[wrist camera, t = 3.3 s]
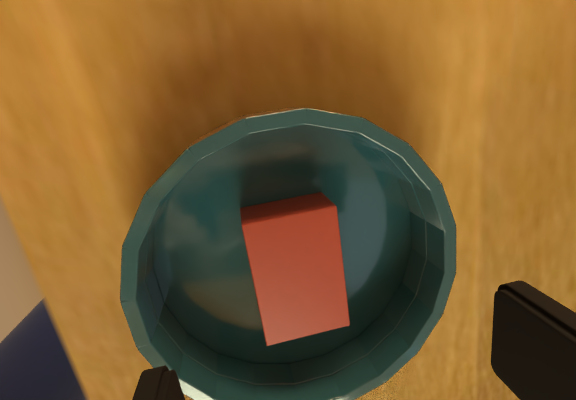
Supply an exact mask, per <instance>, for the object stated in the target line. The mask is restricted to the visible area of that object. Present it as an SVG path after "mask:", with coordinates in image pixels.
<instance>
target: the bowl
mask: <svg viewBox="0 0 576 400" xmlns="http://www.w3.org/2000/svg"><path fill="white" fill-rule="evenodd" d="M318 192H322V193H323V194H324V195H325V196H326V197H327V198H328V199H329V200H330V201H332V202H333V203H334V204H335V205H336V206H337V214H338V222H339V231H340V240H341V249H342V258H343V267H344V276H345V285H346V294H347V303H348V312H349V320H350V325H349V326H345V327H341V328H337V329H333V330H329V331H325V332H321V333H317V334H313V335H309V336H305V337H301V338H297V339H293V340H289V341H285V342H281V343H277V344H273V345H269V346H267V345H266V341H265V336H264V331H263V326H262V322H261V317H260V312H259V307H258V302H257V298H256V293H255V288H254V283H253V278H252V274H251V269H250V264H249V259H248V255H247V250H246V245H245V240H244V235H243V231H242V225H241V216H240V208H242V207H247V206H252V205H257V204H263V203H268V202H273V201H278V200H283V199H288V198H293V197H298V196H303V195H308V194H313V193H318ZM455 271H456V224H455V221H454V218H453V215H452V212H451V209H450V206H449V203H448V200H447V197H446V194H445V192H444V189H443V186H442V183H441V182H440V180H439V179H438V178H437V177H436V176H435V174H434V173H433V172H432V171H431V170H430V168H429V167H428V166H427V165H426V163H425V162H424V161H423V160H422V159H421V157H420V156H419V155H418V154H417V152H416V151H415V150H414V149H413V148H412V146H411V145H409V144H408V143H407V142H405V141H403V140H402V139H400V138H398V137H396V136H395V135H393V134H391V133H389V132H388V131H386V130H384V129H382V128H381V127H379V126H377V125H375V124H374V123H372V122H370V121H368V120H367V119H365V118H362V117H358V116H352V115H346V114H340V113H335V112H329V111H323V110H317V109H311V108H284V109H278V110H272V111H264V112H260V113H254V114H248V115H243V116H239V117H238V118H236V119H234V120H232V121H230V122H228V123H226V124H224V125H222V126H220V127H218V128H216V129H215V130H213V131H211V132H209V133H207V134H205V135H204V136H202V137H200V138H198V139H196V140H195V141H194V142H193V143H192V144H191V145H190V146H189V147H188V148H187V149H186V150H185V151H184V152H183V153H182V154H181V155H180V156H179V157H178V158H177V159H176V160H175V161H174V163H173V164H172V165H171V166H170V167H169V168H168V169H167V170H166V171H165V172H164V173H163V174H162V175H161V176H160V178H159V179H158V180H157V181H156V182H155V183H154V184H153V185H152V186H151V187H150V188H149V189H148V190H147V191H146V193H145V194H144V196H143V199H142V201H141V203H140V206H139V208H138V210H137V213H136V215H135V217H134V220H133V222H132V224H131V227H130V229H129V231H128V234H127V236H126V238H125V241H124V243H123V245H122V258H121V285H120V301H121V305H122V308H123V311H124V314H125V316H126V319H127V322H128V325H129V328H130V330H131V333H132V336H133V339H134V342H135V344H136V347H137V348H138V350H139V351H140V353H141V354H142V355H143V356H144V357H145V358H146V360H147V361H148V362H149V363H150V364H151V365H152V367H153V368H157V367H161V366H167V367H168V369H169V370H175V371H176V373H177V376H178V379H179V382H180V386H181V389H182V392H183V394H184V395H186V396H188V397H190V398H191V399H193V400H355V399H357V398H359V397H360V396H362V395H364V394H366V393H368V392H369V391H371V390H373V389H375V388H377V387H378V386H380V385H382V384H384V383H385V382H387V381H388V380H389V379H390V378H391V377H392V376H393V375H394V374H395V373H396V372H397V371H398V370H400V369H401V368H402V367H403V366H404V365H405V364H406V363H407V362H408V361H409V360H410V359H412V358H413V357H414V356H415V355H416V354H417V353H418V351H419V350H420V349H421V347H422V346H423V344H424V342H425V341H426V339H427V338H428V336H429V335H430V333H431V332H432V330H433V329H434V327H435V326H436V324H437V323H438V321H439V319H440V318H441V316H442V314H443V312H444V309H445V306H446V303H447V300H448V297H449V293H450V290H451V287H452V284H453V281H454V278H455V274H456V272H455Z"/></svg>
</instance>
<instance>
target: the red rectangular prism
mask: <svg viewBox="0 0 576 400" xmlns="http://www.w3.org/2000/svg"><path fill="white" fill-rule="evenodd" d="M240 216H241V225H242V231H243V235H244V240H245V245H246V250H247V255H248V259H249V264H250V269H251V274H252V278H253V283H254V288H255V293H256V298H257V302H258V307H259V312H260V317H261V322H262V326H263V331H264V336H265V341H266V345H267V346H269V345H273V344H277V343H281V342H285V341H289V340H293V339H297V338H301V337H305V336H309V335H313V334H317V333H321V332H325V331H329V330H333V329H337V328H341V327H345V326H349V325H350V320H349V312H348V303H347V294H346V285H345V276H344V267H343V258H342V249H341V240H340V231H339V222H338V214H337V206H336V205H335V204H334V203H333V202H332V201H330V200H329V199H328V198H327V197H326V196H325V195H324V194H323V193H322V192H318V193H313V194H308V195H303V196H298V197H293V198H288V199H283V200H278V201H273V202H268V203H263V204H257V205H252V206H247V207H242V208H240Z"/></svg>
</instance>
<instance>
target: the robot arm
mask: <svg viewBox="0 0 576 400" xmlns="http://www.w3.org/2000/svg"><path fill="white" fill-rule="evenodd" d="M491 365H492V368H493V370H494V372H495V374H496V375H497V376H498V377H499V378H500V379H501V380H502V381H503V382H504V383H505V384H506V385H507V386H508V388H509V389H510V390H511V391H512V392H513V393H514V394H515V395H516V396H517V397H518V398H519V399H520V400H576V313H575V312H573V311H571V310H570V309H568V308H567V307H565V306H563V305H562V304H560V303H558V302H557V301H555V300H554V299H552V298H550V297H549V296H547V295H545V294H544V293H542V292H540V291H539V290H537V289H536V288H534V287H532V286H531V285H529V284H527V283H526V282H524V281H515V282H511V283H506V284H502V285H500V286H499V287H498V291H497V292H496V293H495V296H494V314H493V332H492V351H491ZM132 400H185V398H184V395H183V392H182V389H181V386H180V382H179V379H178V376H177V373H176V371H175V370H169V369H168V367H167V366H161V367H157V368H152V369H148V370H144V371H143V372H142V374H141V376H140V379H139V382H138V385H137V388H136V390H135V393H134V396H133V399H132Z"/></svg>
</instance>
